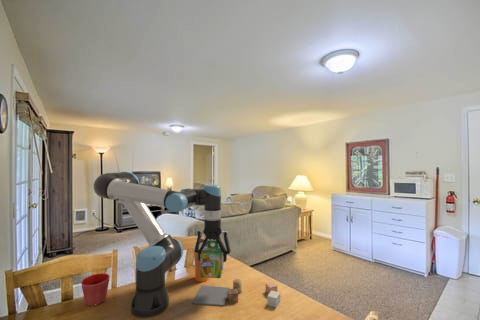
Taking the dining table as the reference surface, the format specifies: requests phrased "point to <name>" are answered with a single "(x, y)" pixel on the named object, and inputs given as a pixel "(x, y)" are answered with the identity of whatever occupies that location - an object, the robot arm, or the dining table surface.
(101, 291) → the flower pot
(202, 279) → the shaker bottle
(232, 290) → the walnut block
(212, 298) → the mat
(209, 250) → the chalk box
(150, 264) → the robot arm
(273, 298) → the grey plastic block
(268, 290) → the terracotta cube
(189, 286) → the dining table surface
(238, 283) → the oak cylinder
